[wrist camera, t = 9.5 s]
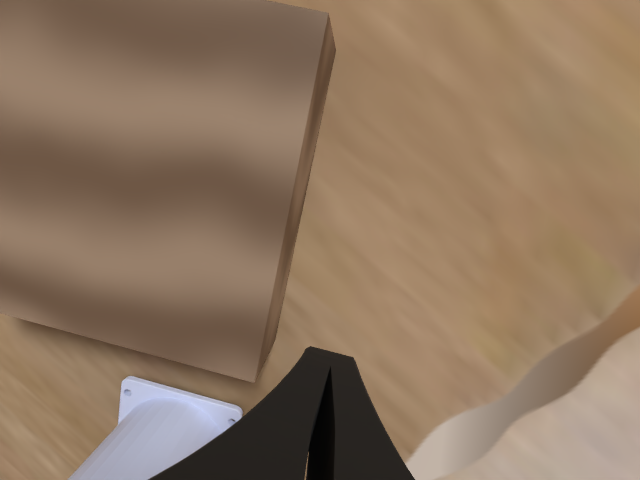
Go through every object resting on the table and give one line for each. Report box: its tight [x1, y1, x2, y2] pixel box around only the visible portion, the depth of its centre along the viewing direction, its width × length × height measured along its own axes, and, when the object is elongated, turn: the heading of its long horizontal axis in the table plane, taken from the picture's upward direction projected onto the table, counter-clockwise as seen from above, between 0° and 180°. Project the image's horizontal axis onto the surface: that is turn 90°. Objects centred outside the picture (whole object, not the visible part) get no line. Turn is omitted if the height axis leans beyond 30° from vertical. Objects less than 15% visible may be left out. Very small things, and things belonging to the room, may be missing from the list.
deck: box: [0, 0, 336, 383], centre depth 16 cm, size 16×16×4 cm
